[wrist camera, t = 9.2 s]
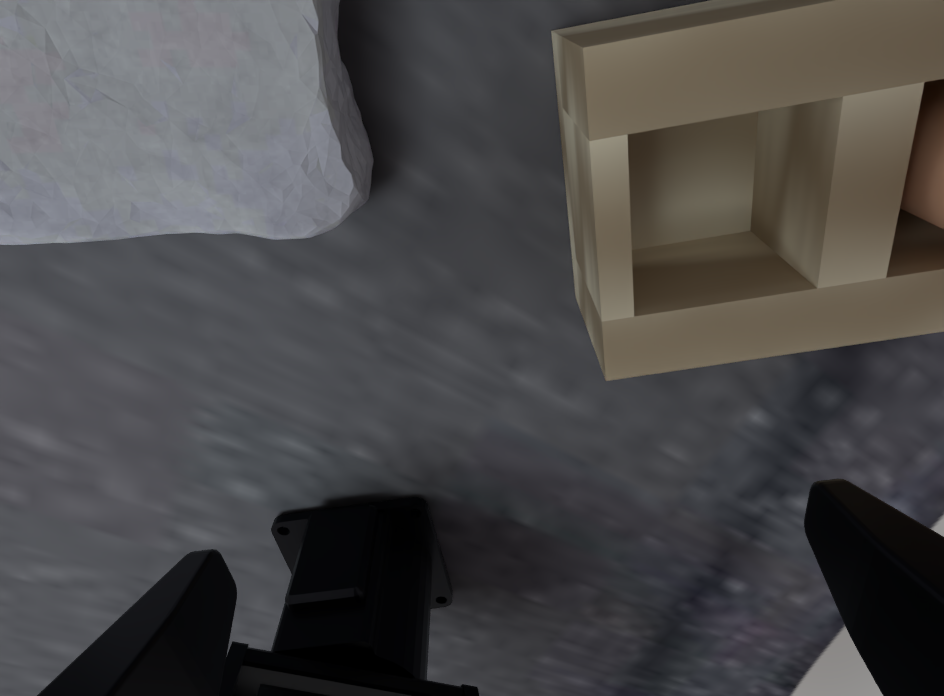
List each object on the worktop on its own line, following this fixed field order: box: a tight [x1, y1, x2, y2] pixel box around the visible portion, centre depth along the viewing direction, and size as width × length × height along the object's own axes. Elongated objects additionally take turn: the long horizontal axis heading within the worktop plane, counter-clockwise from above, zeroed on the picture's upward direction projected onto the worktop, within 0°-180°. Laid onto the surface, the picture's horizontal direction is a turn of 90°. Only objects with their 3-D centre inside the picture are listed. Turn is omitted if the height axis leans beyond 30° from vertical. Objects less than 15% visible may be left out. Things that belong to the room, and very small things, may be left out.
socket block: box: [551, 0, 944, 381], centre depth 16 cm, size 8×12×5 cm, turn 100°
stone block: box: [0, 0, 374, 245], centre depth 15 cm, size 12×5×10 cm
